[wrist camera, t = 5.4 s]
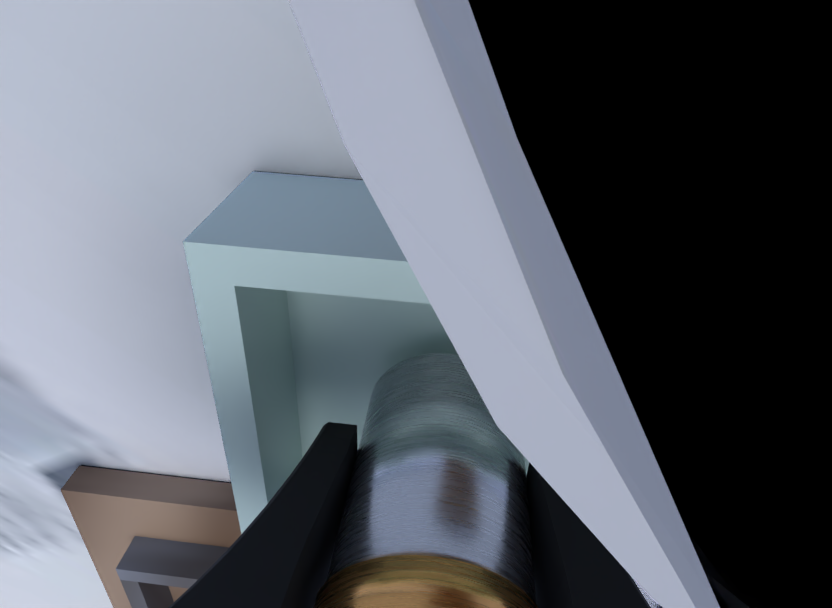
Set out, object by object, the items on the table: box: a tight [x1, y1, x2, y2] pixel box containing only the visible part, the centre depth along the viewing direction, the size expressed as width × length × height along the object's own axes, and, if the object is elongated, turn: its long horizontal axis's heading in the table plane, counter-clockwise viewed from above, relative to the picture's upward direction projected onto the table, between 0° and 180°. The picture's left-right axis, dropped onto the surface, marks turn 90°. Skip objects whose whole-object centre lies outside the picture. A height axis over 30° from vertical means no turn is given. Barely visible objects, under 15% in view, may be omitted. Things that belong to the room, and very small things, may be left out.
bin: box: [183, 171, 634, 580], centre depth 14 cm, size 10×10×4 cm
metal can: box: [314, 353, 538, 608], centre depth 11 cm, size 4×4×6 cm
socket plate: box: [61, 466, 241, 608], centre depth 21 cm, size 10×10×2 cm
